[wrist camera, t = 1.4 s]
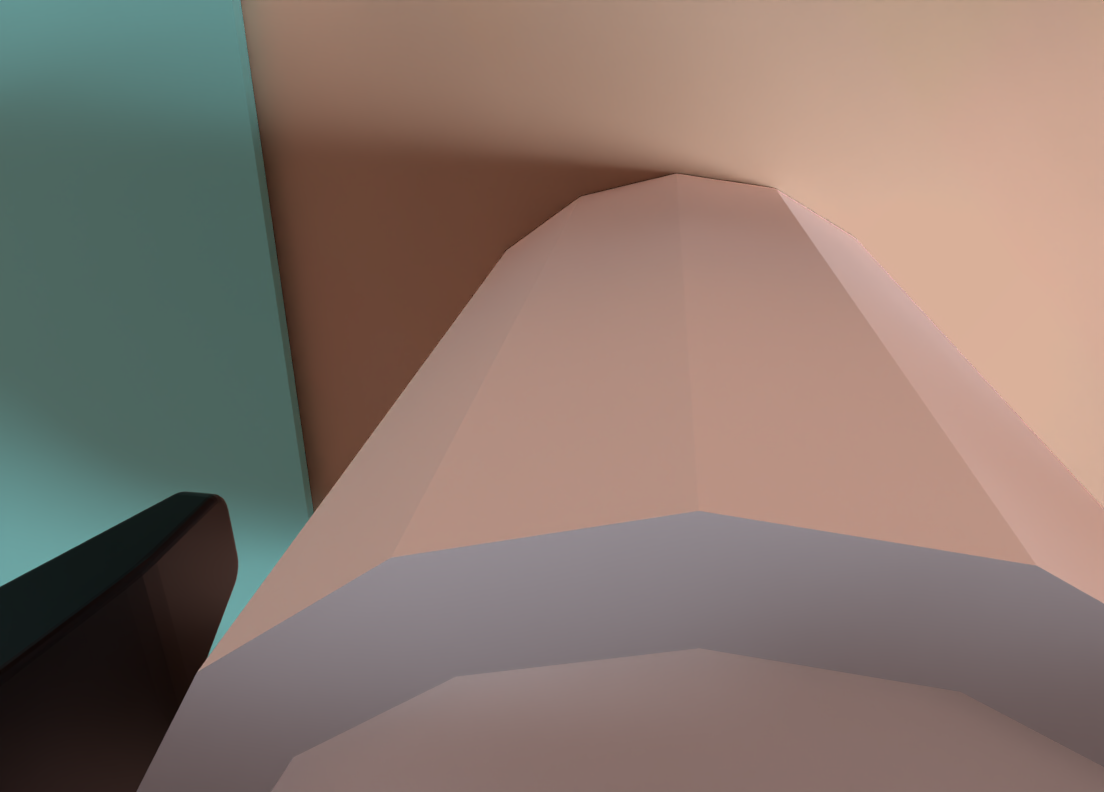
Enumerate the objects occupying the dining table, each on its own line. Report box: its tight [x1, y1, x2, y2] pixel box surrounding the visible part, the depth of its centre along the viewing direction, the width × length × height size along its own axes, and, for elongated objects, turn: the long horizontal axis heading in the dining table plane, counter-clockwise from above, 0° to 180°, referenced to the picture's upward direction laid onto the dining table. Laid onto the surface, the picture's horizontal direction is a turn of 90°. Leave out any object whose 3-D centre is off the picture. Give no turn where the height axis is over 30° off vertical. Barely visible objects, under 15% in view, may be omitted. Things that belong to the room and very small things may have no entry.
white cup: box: [137, 173, 1104, 792], centre depth 8 cm, size 7×7×7 cm
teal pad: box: [0, 0, 314, 658], centre depth 12 cm, size 12×6×1 cm, turn 179°
